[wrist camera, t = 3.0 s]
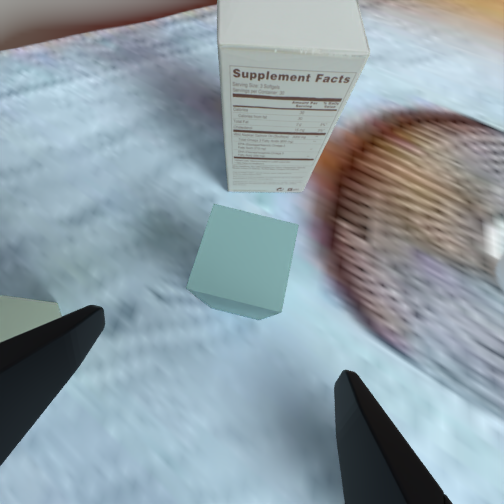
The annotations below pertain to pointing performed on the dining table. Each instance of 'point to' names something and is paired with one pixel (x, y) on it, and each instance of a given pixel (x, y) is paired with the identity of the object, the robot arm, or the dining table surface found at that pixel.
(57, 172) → the dining table surface
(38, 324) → the sage post
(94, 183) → the dining table surface
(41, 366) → the robot arm
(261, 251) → the teal post
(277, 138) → the supplement box
